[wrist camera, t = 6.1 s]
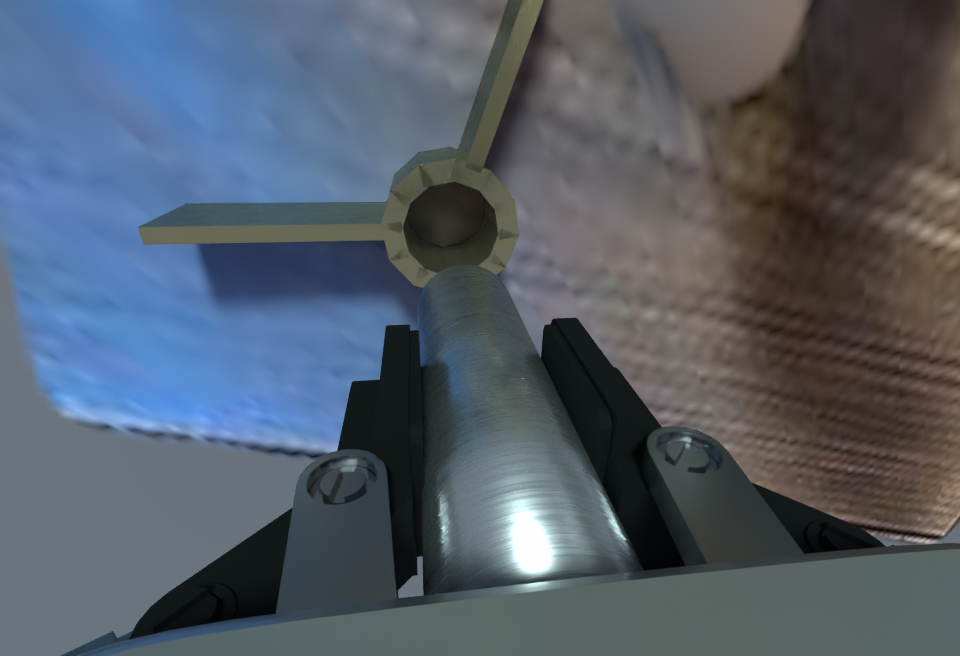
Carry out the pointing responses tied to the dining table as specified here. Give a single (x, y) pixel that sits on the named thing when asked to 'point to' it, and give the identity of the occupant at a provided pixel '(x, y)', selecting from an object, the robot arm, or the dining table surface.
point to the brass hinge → (409, 182)
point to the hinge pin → (502, 452)
